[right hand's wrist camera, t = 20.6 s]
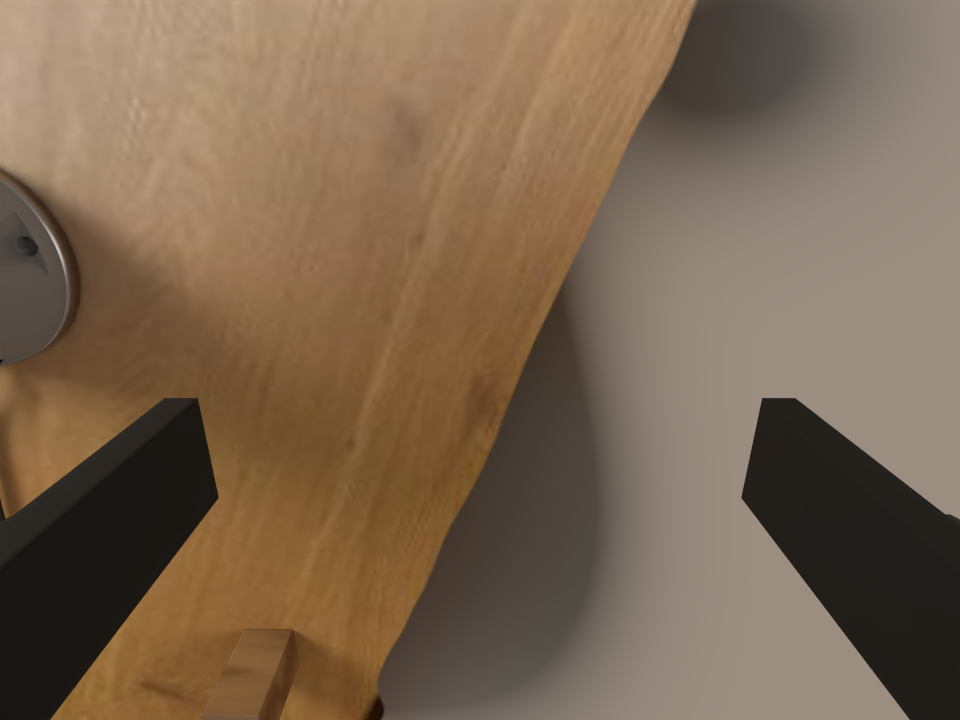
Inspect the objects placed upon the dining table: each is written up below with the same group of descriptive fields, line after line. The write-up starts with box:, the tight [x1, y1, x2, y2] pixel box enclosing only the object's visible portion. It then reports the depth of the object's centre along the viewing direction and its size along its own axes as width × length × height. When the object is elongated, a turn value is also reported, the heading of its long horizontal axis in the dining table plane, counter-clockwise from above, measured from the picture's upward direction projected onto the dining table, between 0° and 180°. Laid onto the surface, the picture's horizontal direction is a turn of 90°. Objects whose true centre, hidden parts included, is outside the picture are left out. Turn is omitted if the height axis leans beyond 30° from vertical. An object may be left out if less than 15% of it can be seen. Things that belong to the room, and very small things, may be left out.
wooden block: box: [201, 630, 298, 720], centre depth 49 cm, size 5×5×9 cm
